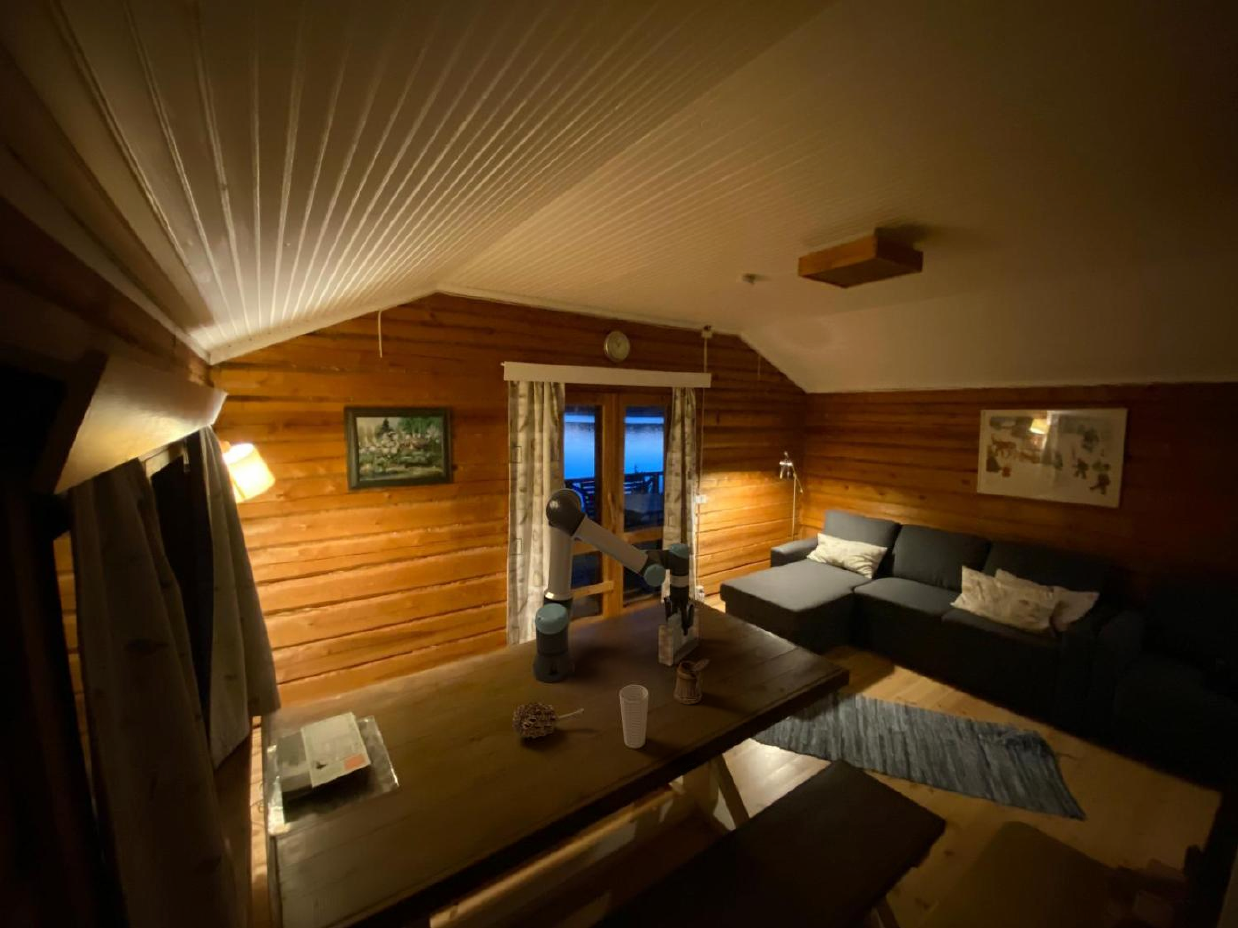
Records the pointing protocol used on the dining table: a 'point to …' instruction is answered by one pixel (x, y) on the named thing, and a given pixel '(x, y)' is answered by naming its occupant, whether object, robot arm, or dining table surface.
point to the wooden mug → (689, 681)
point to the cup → (634, 714)
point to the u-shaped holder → (667, 643)
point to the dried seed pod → (538, 719)
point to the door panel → (677, 631)
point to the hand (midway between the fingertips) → (679, 641)
